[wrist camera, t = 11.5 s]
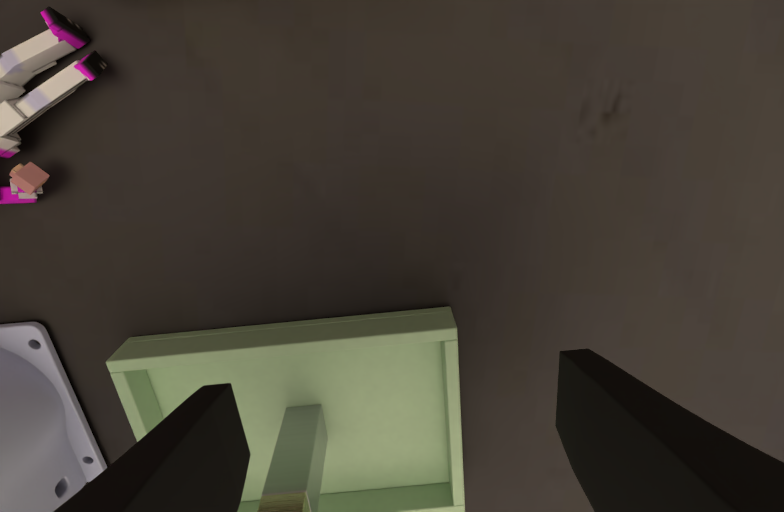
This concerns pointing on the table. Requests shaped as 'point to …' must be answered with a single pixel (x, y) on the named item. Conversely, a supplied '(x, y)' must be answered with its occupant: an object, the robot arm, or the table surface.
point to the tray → (324, 400)
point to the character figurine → (38, 93)
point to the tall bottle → (296, 462)
